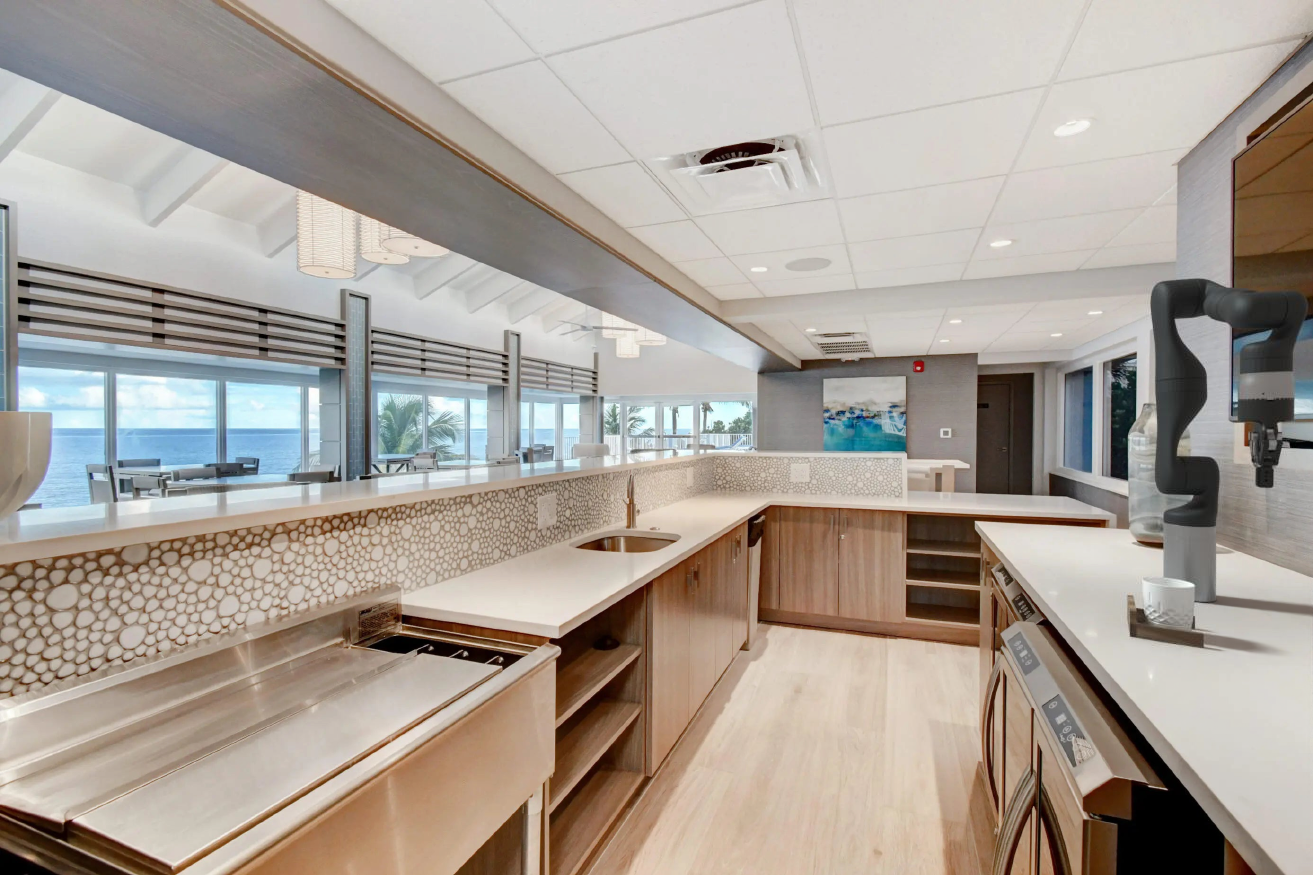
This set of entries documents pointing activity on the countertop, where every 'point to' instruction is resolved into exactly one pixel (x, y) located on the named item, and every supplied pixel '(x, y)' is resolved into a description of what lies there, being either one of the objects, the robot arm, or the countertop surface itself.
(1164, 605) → the white cup
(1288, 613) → the countertop surface
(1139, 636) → the walnut bay
